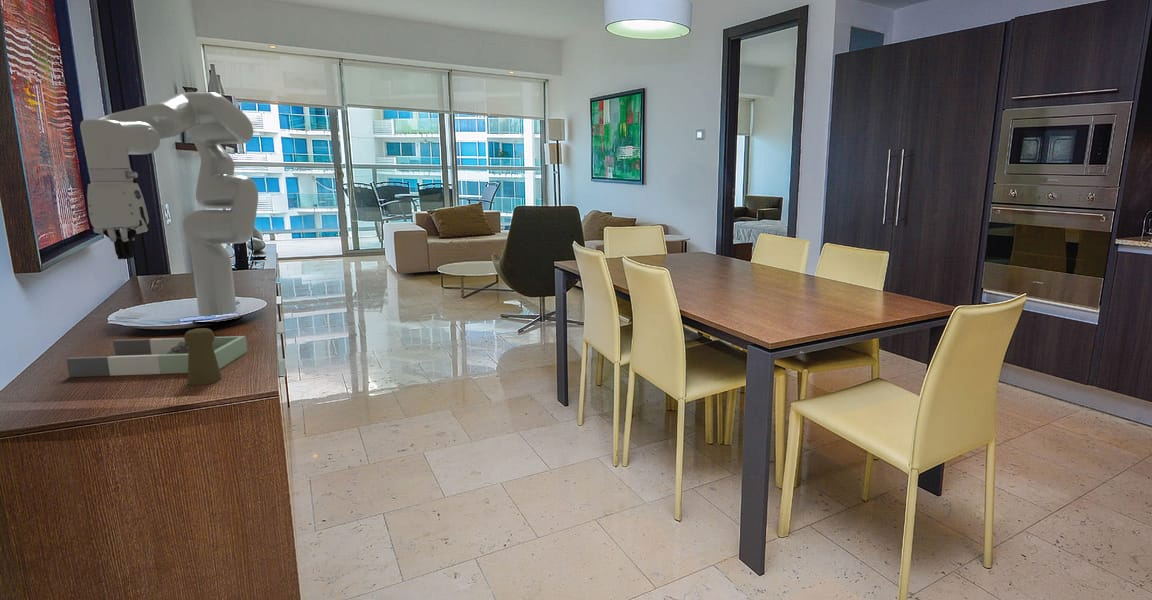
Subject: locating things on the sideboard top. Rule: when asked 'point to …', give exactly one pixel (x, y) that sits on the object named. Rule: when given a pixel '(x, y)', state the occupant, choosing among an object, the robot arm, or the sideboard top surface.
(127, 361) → the frame
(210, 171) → the robot arm
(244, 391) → the sideboard top surface
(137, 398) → the sideboard top surface
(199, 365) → the cork
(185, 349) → the egg carton
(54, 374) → the sideboard top surface
